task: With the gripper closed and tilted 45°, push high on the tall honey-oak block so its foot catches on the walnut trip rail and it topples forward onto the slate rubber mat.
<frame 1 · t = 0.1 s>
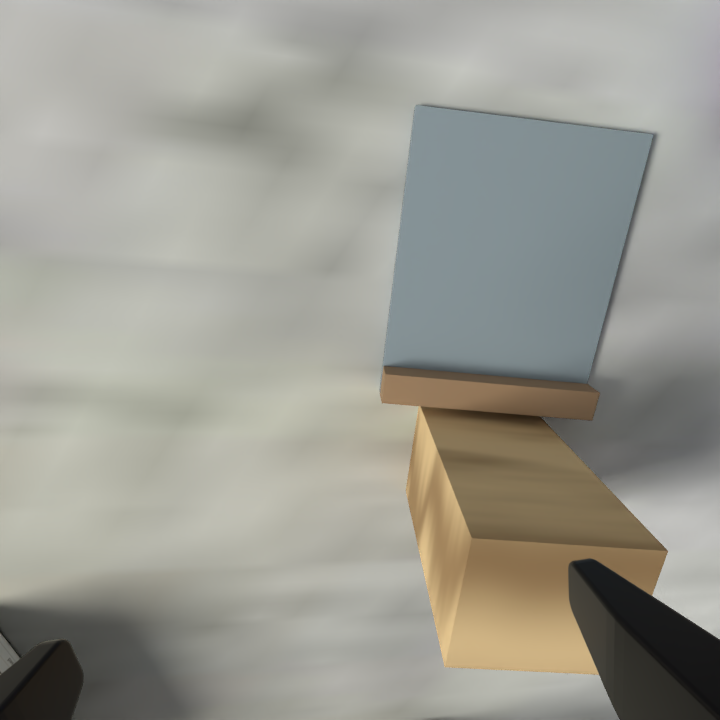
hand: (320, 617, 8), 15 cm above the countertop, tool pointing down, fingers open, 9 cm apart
oak block: (469, 452, 24), on the countertop
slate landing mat: (504, 272, 21), on the countertop
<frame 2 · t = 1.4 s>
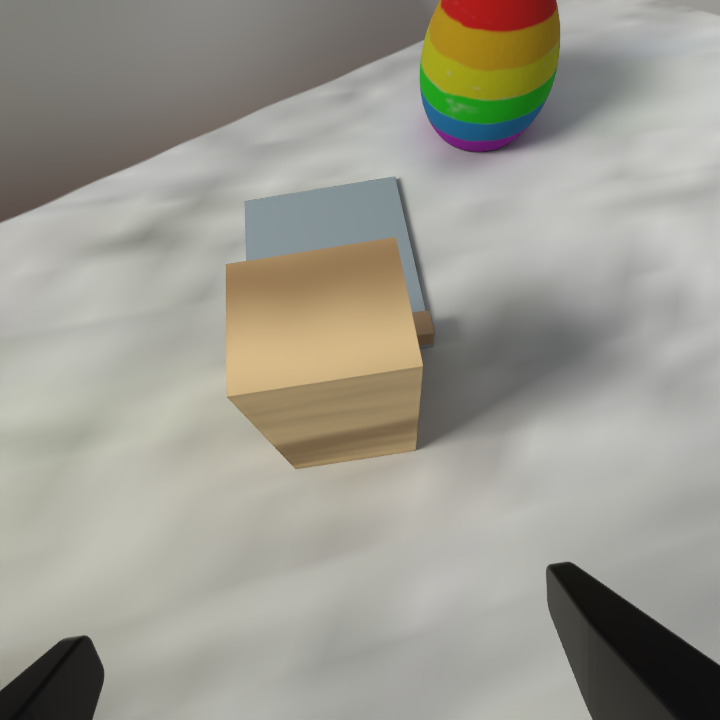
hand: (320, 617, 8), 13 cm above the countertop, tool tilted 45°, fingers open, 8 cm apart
oak block: (349, 412, 24), on the countertop
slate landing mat: (330, 268, 28), on the countertop
decorative egg: (476, 127, 33), on the countertop
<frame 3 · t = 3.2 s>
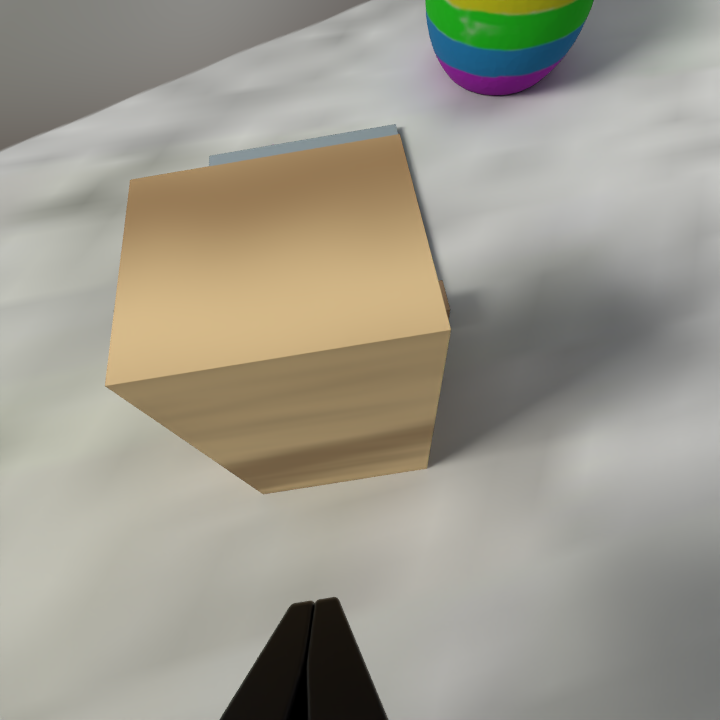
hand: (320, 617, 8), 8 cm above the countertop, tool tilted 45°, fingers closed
oak block: (336, 416, 18), on the countertop
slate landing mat: (313, 233, 22), on the countertop
decorative egg: (494, 69, 27), on the countertop
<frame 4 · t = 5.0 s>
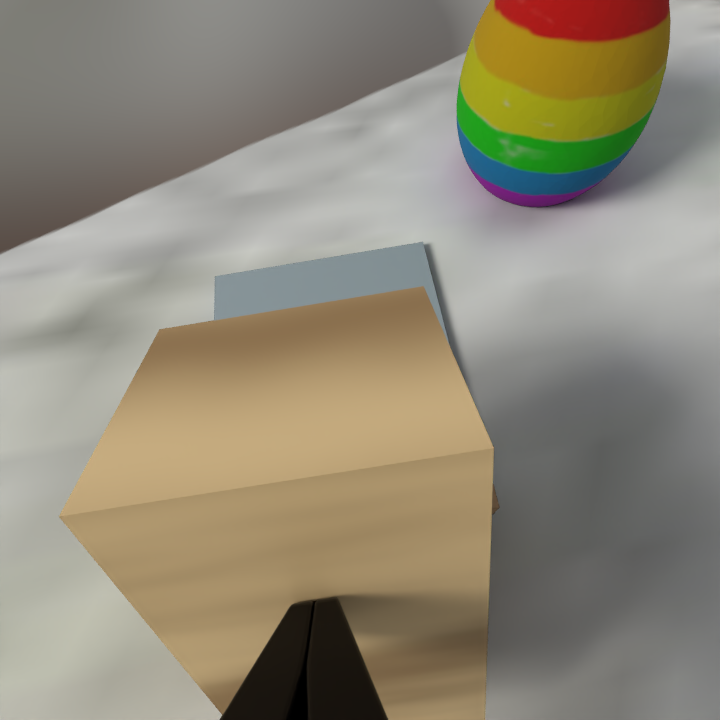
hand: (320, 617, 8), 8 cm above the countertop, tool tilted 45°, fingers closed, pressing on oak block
oak block: (361, 636, 14), point 1 cm above the countertop, tilted 27°, touching gripper, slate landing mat
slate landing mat: (333, 379, 19), on the countertop
decorative egg: (529, 172, 24), on the countertop
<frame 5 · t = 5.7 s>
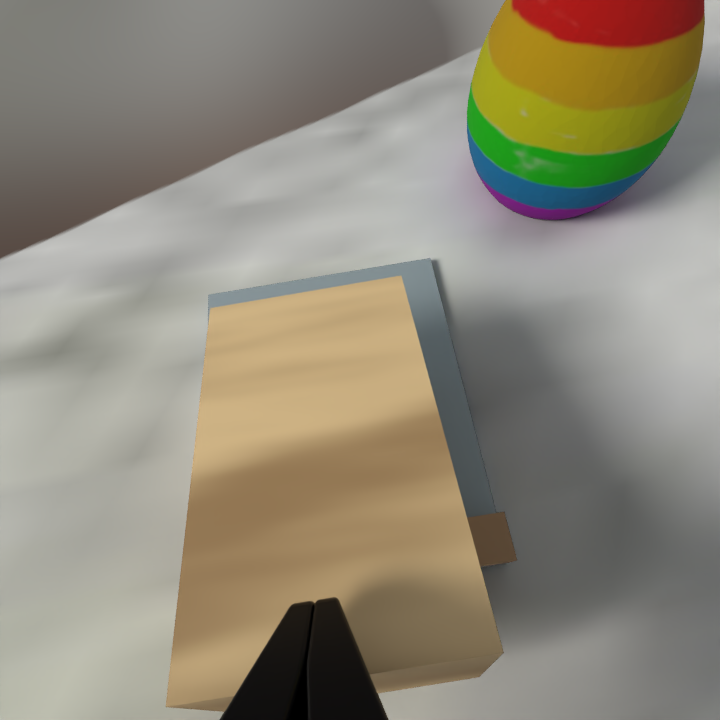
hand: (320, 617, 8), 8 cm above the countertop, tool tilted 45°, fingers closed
oak block: (352, 689, 10), point 5 cm above the countertop, tilted 102°, touching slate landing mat
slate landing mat: (335, 409, 18), on the countertop
decorative egg: (543, 181, 23), on the countertop
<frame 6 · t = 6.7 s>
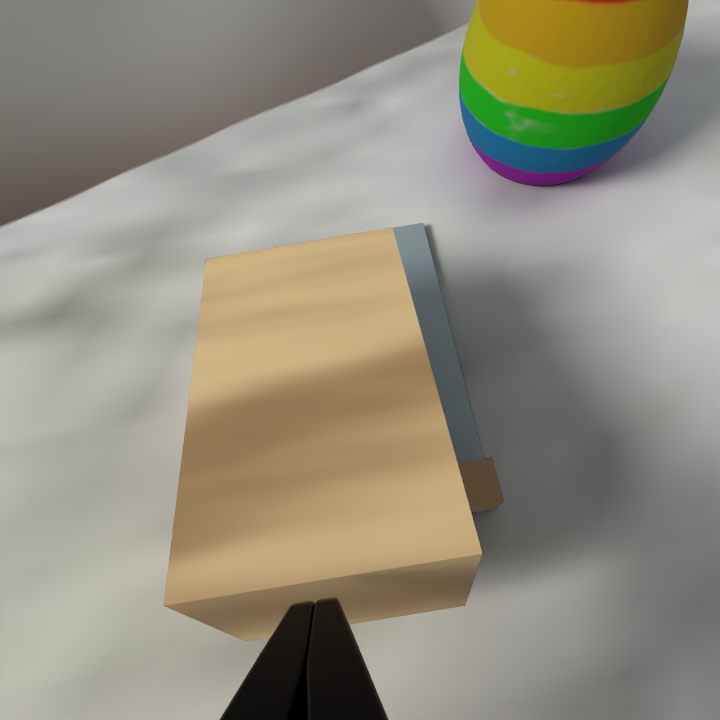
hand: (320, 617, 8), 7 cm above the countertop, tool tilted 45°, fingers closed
oak block: (341, 605, 11), point 5 cm above the countertop, tilted 102°, touching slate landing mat
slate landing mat: (329, 367, 19), on the countertop
decorative egg: (535, 149, 23), on the countertop
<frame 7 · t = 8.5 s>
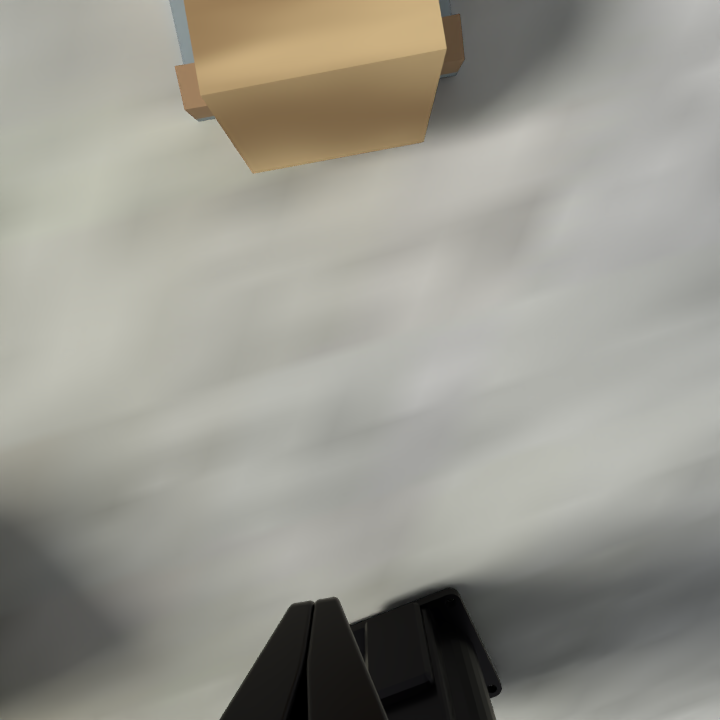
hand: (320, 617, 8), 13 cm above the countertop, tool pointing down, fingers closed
oak block: (331, 122, 14), point 5 cm above the countertop, tilted 102°, touching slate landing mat
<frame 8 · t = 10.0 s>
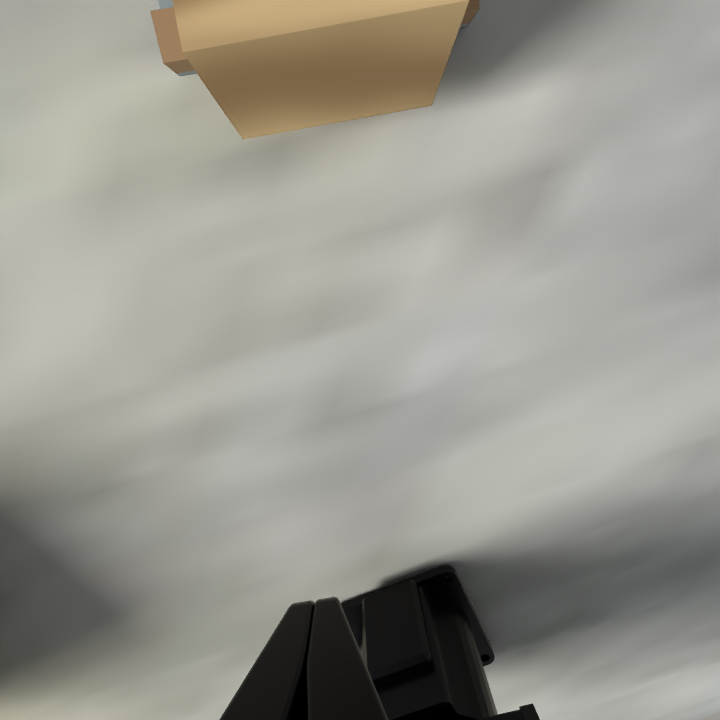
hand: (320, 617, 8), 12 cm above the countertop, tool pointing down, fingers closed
oak block: (332, 84, 12), point 5 cm above the countertop, tilted 102°, touching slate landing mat
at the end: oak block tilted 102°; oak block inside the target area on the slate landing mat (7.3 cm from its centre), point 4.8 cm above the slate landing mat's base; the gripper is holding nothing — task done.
